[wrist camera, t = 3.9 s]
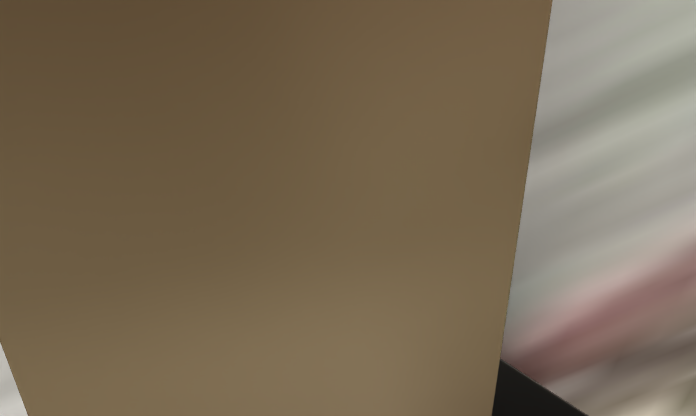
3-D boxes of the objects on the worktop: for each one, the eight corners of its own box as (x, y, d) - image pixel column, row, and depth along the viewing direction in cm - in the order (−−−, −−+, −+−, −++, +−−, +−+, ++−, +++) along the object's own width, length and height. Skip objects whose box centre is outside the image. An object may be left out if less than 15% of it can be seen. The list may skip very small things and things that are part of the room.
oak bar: (382, 570, 12) (432, 816, 8) (223, 599, 11) (202, 876, 8) (405, -232, 6) (649, -662, 2) (54, -254, 5) (-469, -899, 1)
